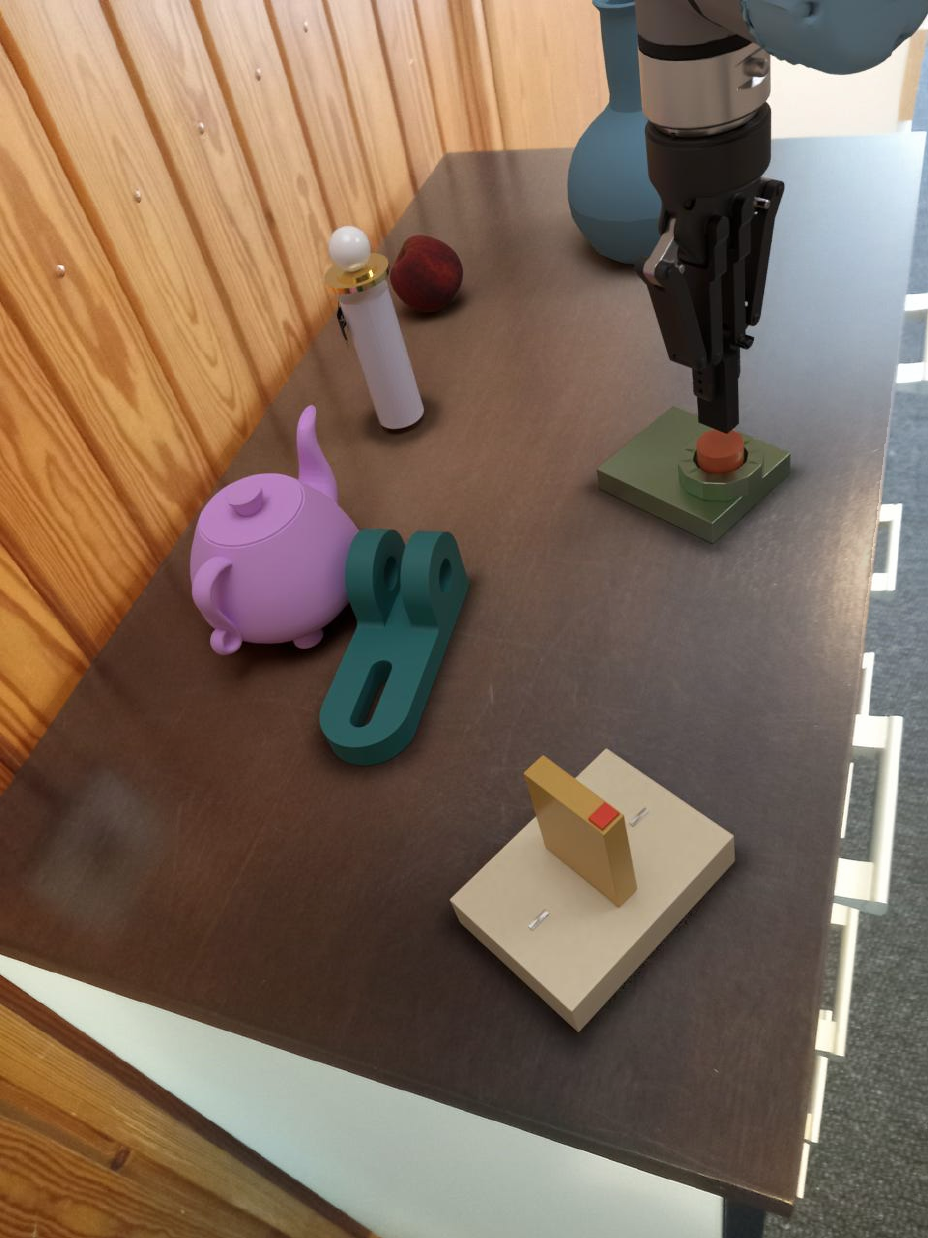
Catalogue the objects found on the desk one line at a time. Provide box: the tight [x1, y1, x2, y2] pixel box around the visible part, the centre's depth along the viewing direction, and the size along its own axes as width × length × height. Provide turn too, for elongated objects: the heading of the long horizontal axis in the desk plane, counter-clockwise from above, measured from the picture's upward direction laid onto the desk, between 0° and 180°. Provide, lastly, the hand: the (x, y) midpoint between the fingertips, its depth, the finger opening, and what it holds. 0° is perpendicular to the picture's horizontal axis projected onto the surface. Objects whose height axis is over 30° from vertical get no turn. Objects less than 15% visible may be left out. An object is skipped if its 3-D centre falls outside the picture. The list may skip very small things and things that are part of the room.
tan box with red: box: [522, 754, 637, 907], centre depth 58 cm, size 6×2×8 cm, turn 42°
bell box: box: [596, 405, 792, 544], centre depth 85 cm, size 12×10×4 cm
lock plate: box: [449, 748, 736, 1033], centre depth 62 cm, size 14×10×3 cm
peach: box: [389, 234, 464, 313], centre depth 111 cm, size 7×8×8 cm
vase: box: [566, 0, 662, 265], centre depth 105 cm, size 16×16×25 cm
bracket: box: [318, 528, 471, 767], centre depth 76 cm, size 18×7×8 cm, turn 164°
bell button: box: [696, 429, 744, 474], centre depth 81 cm, size 4×4×2 cm
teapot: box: [189, 404, 360, 656], centre depth 82 cm, size 20×14×12 cm
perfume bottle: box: [323, 225, 425, 430], centre depth 94 cm, size 6×6×20 cm
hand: (718, 422), depth 79 cm, fingers closed
